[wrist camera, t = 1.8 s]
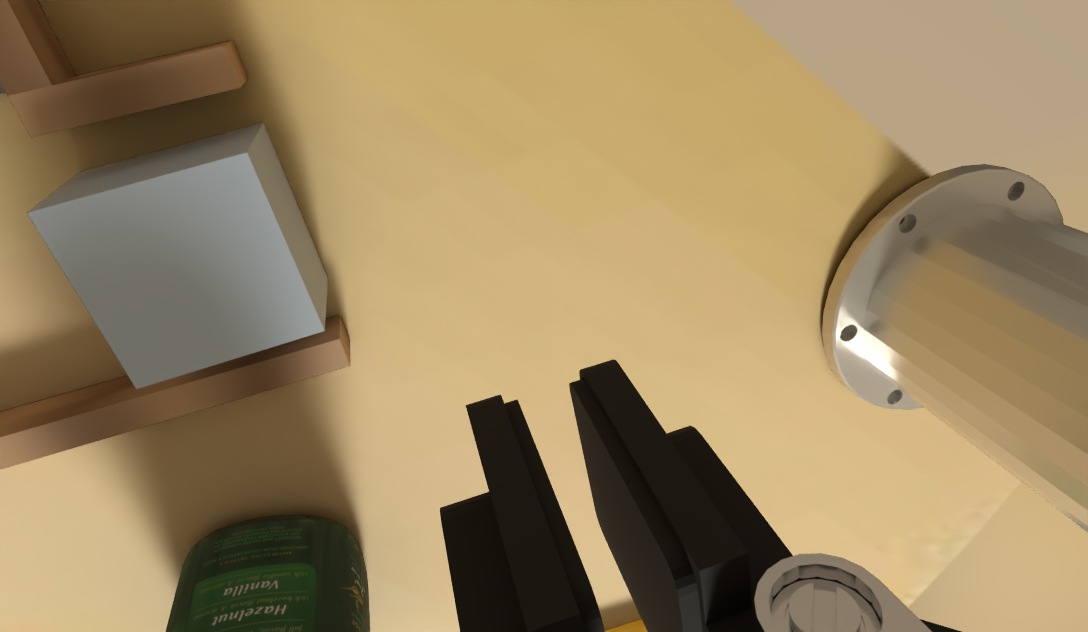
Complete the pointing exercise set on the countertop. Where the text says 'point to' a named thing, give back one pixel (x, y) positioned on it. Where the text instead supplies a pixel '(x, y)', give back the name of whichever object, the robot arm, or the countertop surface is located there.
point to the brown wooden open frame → (70, 101)
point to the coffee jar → (274, 579)
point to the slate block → (188, 254)
